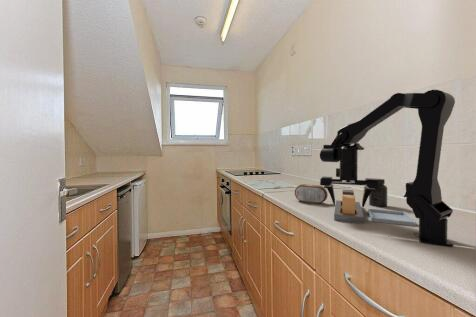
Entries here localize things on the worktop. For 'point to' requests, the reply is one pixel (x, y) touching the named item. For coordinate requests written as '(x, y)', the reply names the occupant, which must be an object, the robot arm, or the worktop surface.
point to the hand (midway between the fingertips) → (348, 205)
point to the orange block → (348, 204)
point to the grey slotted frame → (354, 218)
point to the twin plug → (348, 192)
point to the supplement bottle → (379, 195)
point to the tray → (391, 217)
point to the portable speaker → (311, 193)
